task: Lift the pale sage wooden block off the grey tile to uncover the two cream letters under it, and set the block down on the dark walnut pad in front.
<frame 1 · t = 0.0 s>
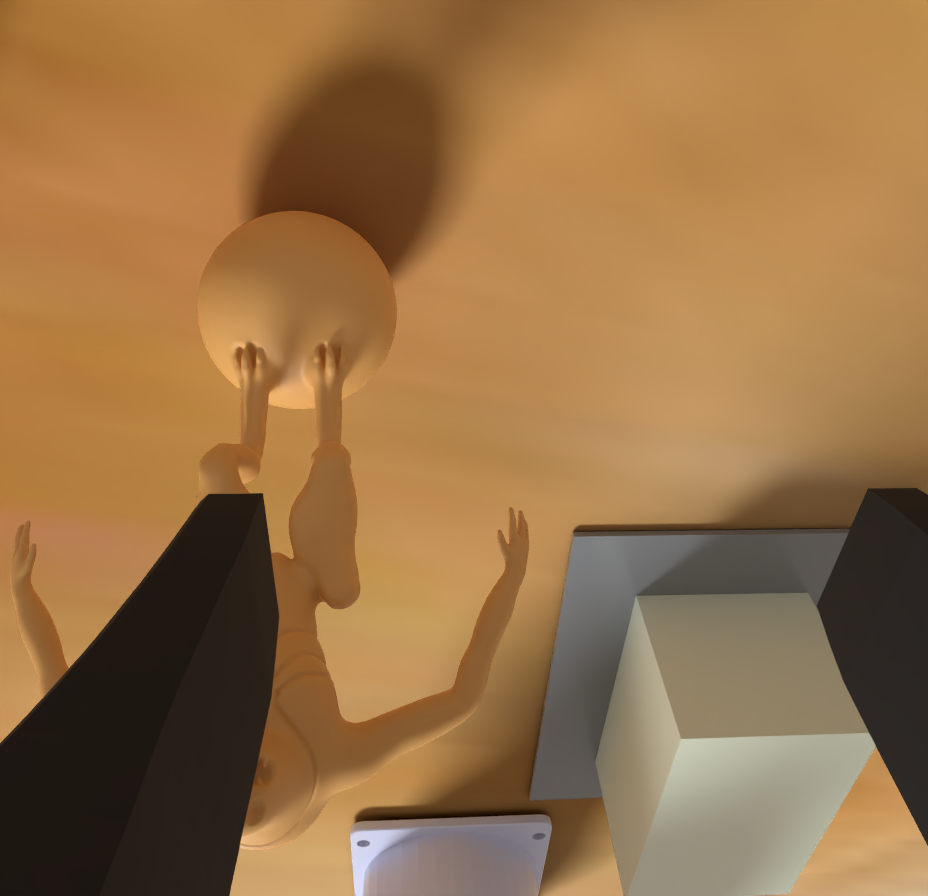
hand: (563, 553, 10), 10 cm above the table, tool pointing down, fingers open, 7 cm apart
figurine: (313, 307, 19), on the table
grey tile: (690, 679, 28), on the table
sage block: (692, 684, 28), resting on grey tile
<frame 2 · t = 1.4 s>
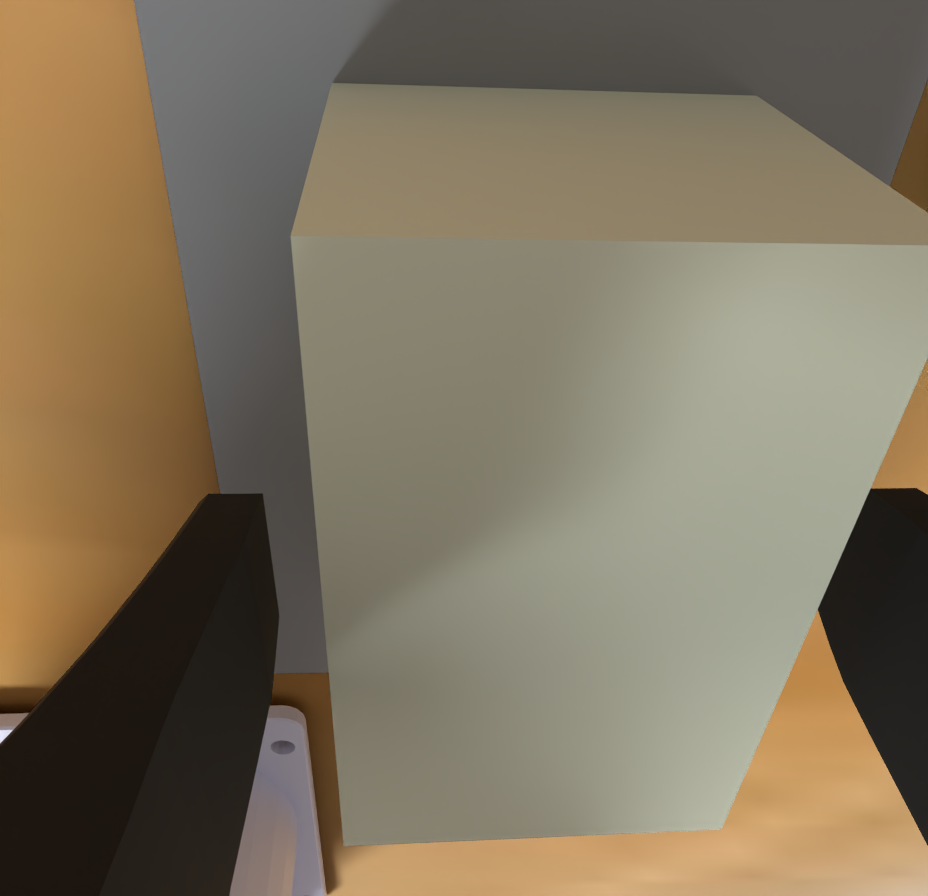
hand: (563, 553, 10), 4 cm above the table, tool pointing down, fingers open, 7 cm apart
grey tile: (517, 380, 13), on the table
sage block: (519, 387, 13), resting on grey tile
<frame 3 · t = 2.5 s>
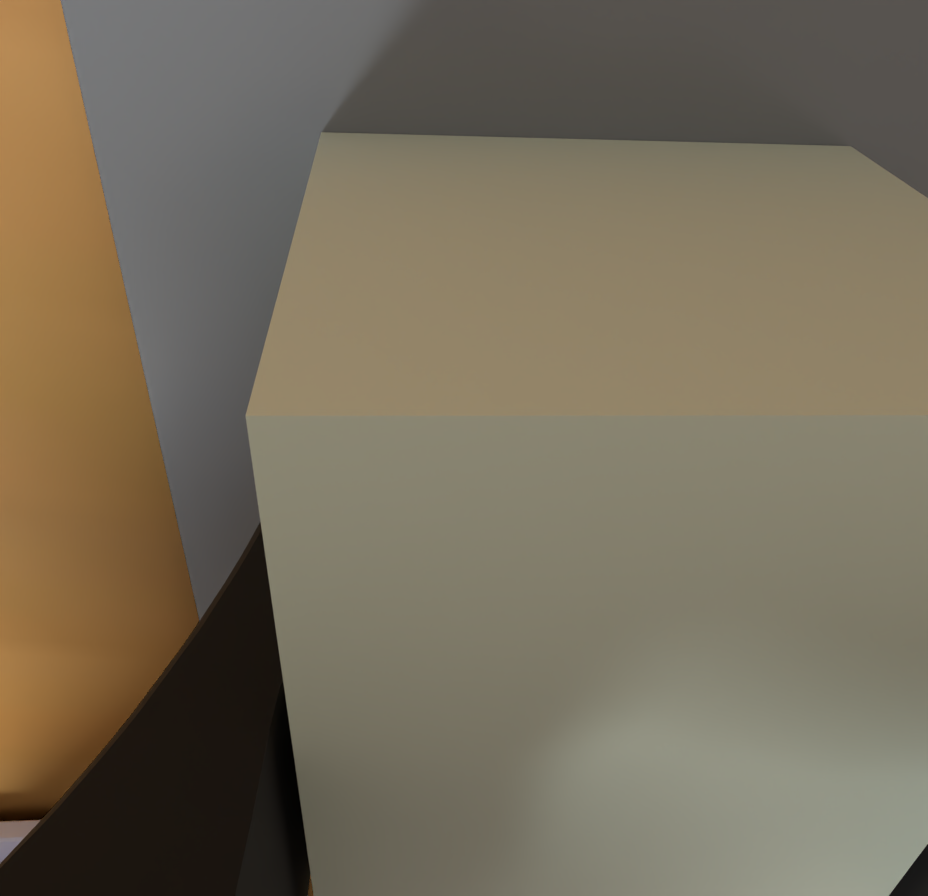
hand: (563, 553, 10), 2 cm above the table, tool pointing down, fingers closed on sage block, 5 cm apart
grey tile: (544, 471, 11), on the table
sage block: (546, 481, 11), resting on grey tile, touching gripper
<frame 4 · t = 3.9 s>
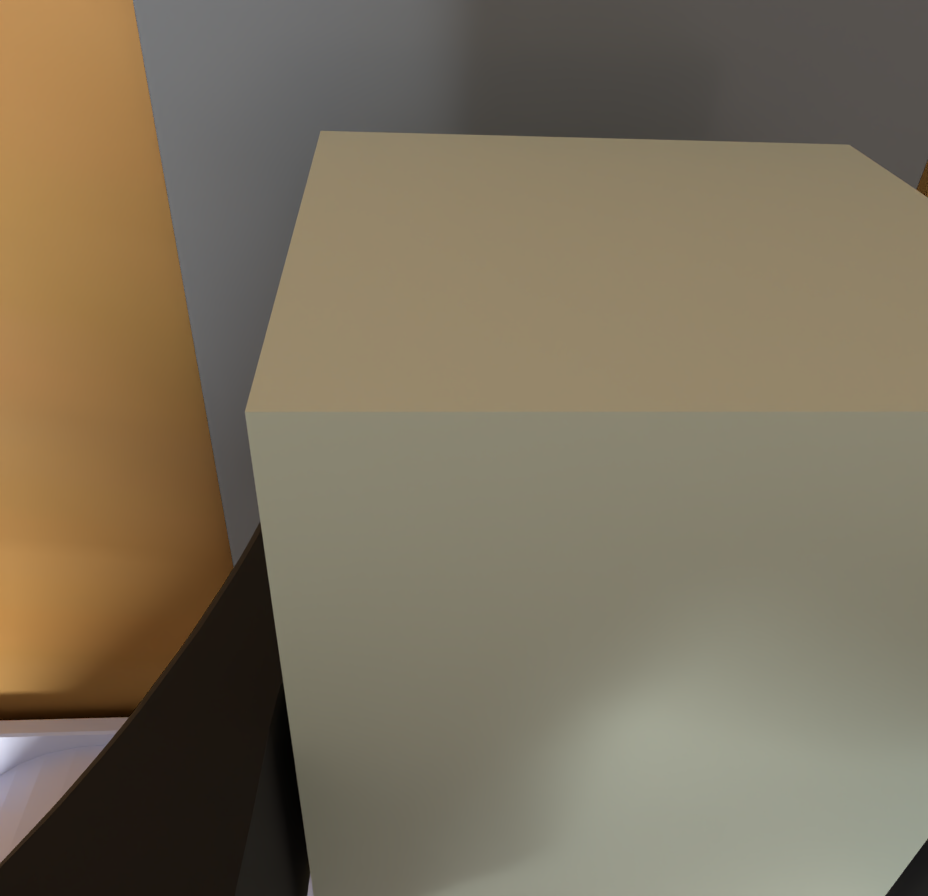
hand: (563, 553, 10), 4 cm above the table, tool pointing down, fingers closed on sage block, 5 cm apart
grey tile: (528, 385, 13), on the table
sage block: (546, 479, 11), point 2 cm above the table, touching gripper
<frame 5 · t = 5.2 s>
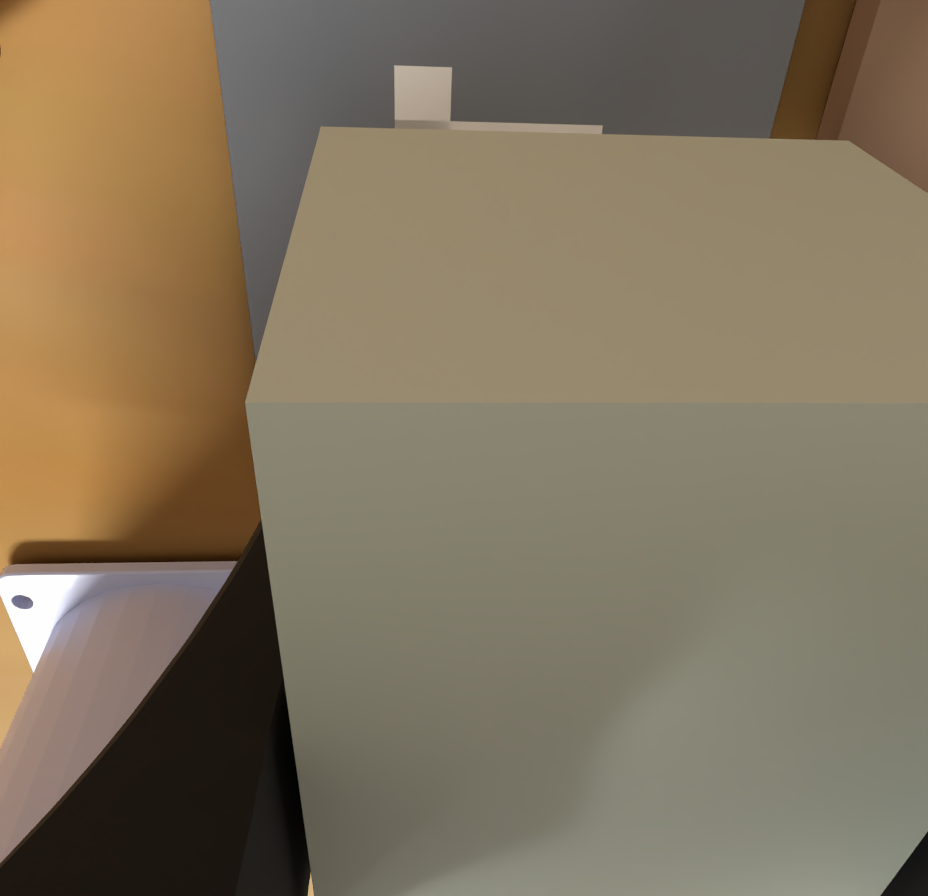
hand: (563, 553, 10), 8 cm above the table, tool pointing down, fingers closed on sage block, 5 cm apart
grey tile: (493, 267, 17), on the table
sage block: (546, 476, 11), point 7 cm above the table, touching gripper
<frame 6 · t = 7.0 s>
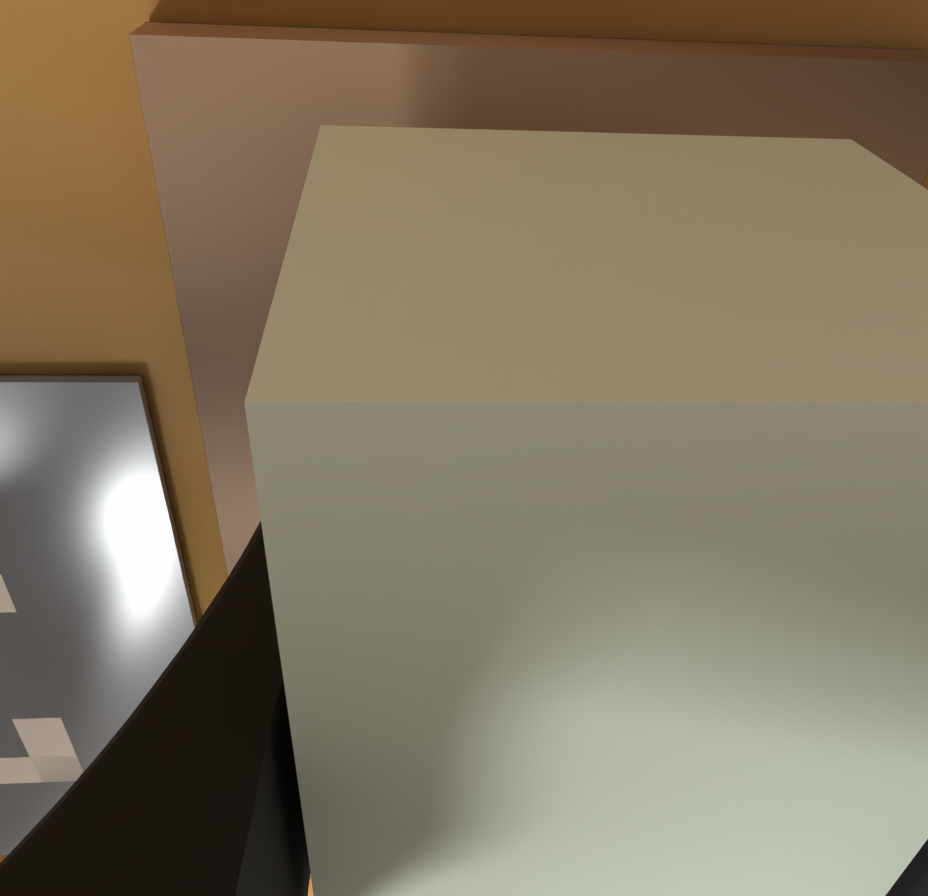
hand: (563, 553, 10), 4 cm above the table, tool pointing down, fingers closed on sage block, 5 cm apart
sage block: (546, 476, 11), point 3 cm above the table, touching gripper
walnut pad: (521, 376, 13), on the table
when the fingers open (3 cm above the table, at t = 8.2 s): sage block stays where it is, resting on walnut pad.
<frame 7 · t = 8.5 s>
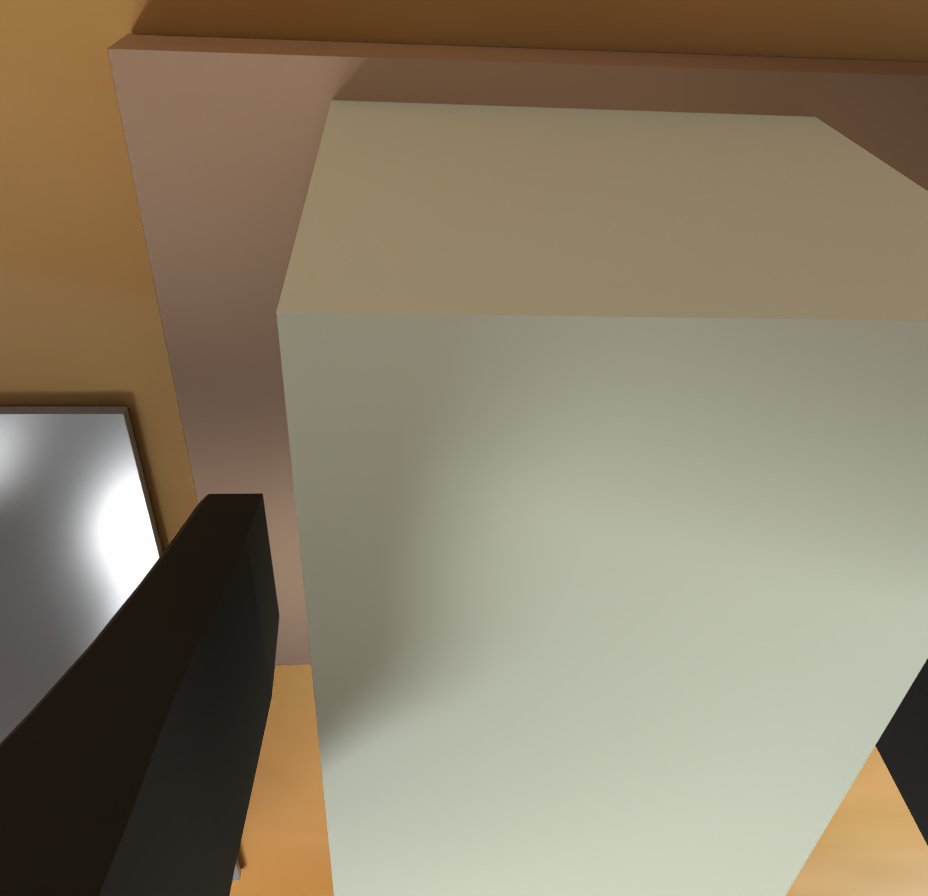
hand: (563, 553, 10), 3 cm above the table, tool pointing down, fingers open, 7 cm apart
sage block: (538, 434, 12), point 1 cm above the table, touching walnut pad
walnut pad: (529, 406, 12), on the table
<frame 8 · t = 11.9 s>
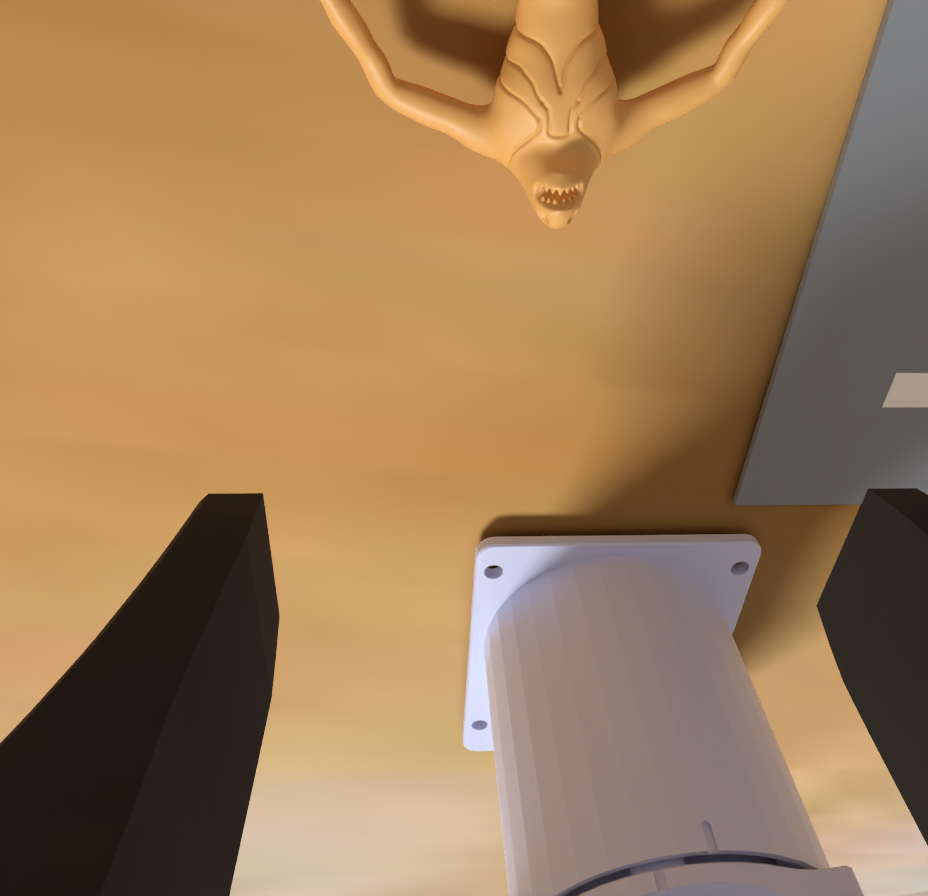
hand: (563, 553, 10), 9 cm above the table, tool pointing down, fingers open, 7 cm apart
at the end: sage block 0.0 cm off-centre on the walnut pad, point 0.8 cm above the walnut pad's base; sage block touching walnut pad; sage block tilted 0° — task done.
